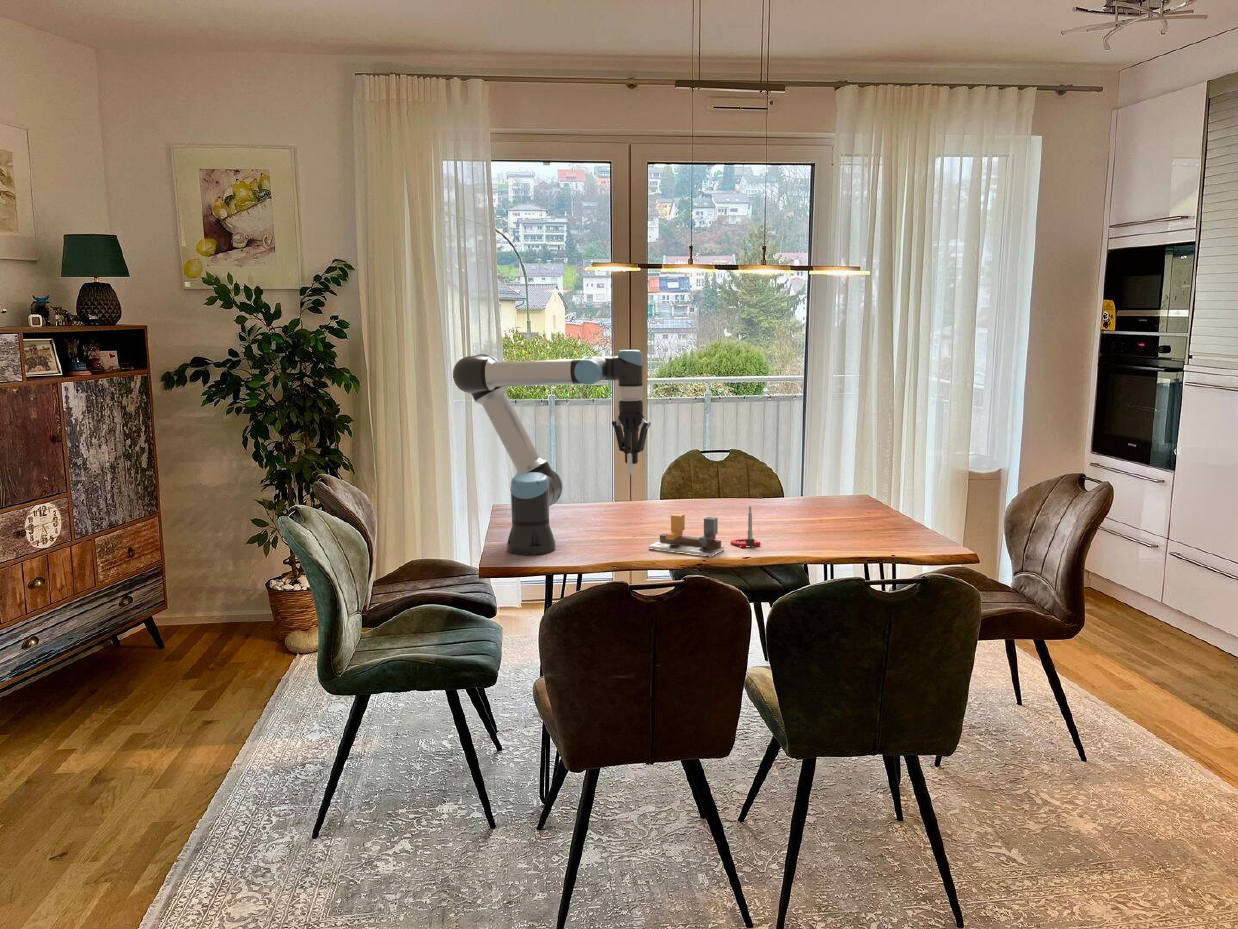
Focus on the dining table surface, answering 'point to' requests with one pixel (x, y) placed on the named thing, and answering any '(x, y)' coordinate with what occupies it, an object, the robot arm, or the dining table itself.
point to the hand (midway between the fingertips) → (631, 473)
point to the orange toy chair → (676, 527)
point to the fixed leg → (709, 531)
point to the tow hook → (750, 540)
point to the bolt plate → (687, 545)
